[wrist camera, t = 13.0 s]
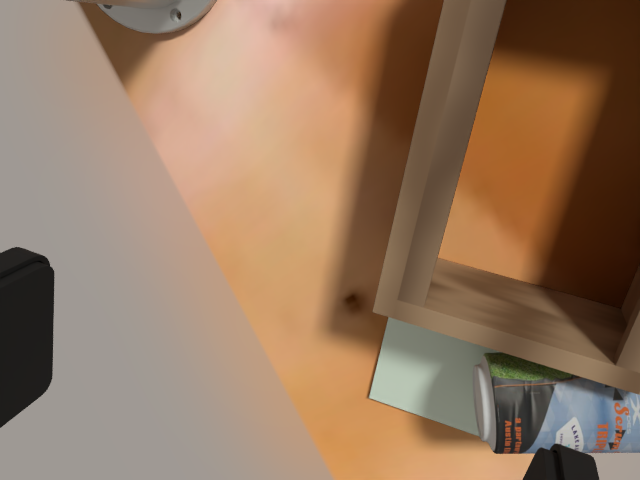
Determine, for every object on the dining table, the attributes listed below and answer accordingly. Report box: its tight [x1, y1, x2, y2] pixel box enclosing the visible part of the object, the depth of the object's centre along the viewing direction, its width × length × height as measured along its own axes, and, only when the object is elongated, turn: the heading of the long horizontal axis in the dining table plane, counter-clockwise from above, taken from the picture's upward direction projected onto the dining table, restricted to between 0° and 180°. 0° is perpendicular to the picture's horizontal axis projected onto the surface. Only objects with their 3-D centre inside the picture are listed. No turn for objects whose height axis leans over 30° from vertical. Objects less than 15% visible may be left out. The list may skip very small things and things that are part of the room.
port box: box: [373, 0, 640, 395], centre depth 29 cm, size 15×22×8 cm
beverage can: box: [473, 352, 640, 454], centre depth 34 cm, size 6×7×12 cm
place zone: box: [369, 317, 499, 437], centre depth 40 cm, size 9×9×1 cm
